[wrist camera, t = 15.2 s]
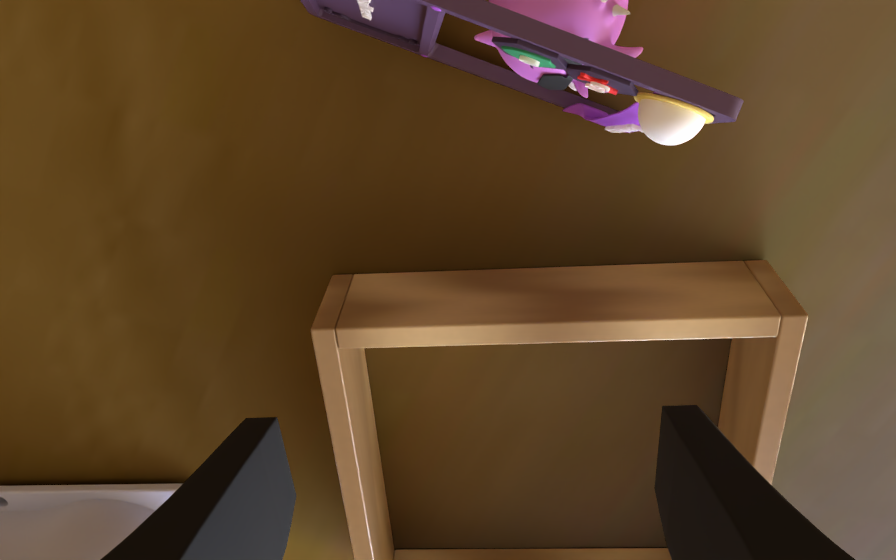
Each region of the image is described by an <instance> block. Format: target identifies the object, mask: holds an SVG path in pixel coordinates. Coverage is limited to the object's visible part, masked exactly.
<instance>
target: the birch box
mask: <svg viewBox="0 0 896 560" xmlns="http://www.w3.org/2000/svg"><path fill="white" fill-rule="evenodd" d="M807 320H808V314H807V313H806V311H805V310H804V309H803V307H802V306H801V305H800V303H799V302H798V301H797V300H796V298H795V297H794V296H793V294H792V293H791V292H790V290H789V289H788V288H787V286H786V285H785V284H784V282H783V281H782V280H781V278H780V277H779V276H778V275H777V273H776V272H775V271H774V269H773V268H772V267H771V265H770V264H769V263H768V261H766V260H752V261H744V262H743V261H719V262H690V263H661V264H632V265H604V266H575V267H546V268H517V269H489V270H460V271H431V272H402V273H374V274H354V276H353V275H352V274H345V275H332V277H331V280H330V282H329V285H328V287H327V290H326V292H325V295H324V297H323V300H322V302H321V305H320V307H319V310H318V312H317V315H316V317H315V320H314V322H313V325H312V327H311V336H312V341H313V346H314V351H315V357H316V362H317V367H318V372H319V377H320V383H321V388H322V393H323V398H324V404H325V409H326V414H327V419H328V424H329V430H330V435H331V440H332V445H333V451H334V456H335V461H336V466H337V472H338V477H339V482H340V487H341V492H342V498H343V503H344V508H345V513H346V519H347V524H348V529H349V534H350V539H351V545H352V550H353V555H354V560H672V559H671V556H670V553H669V550H668V548H590V549H408V550H395V551H394V544H393V538H392V531H391V524H390V518H389V511H388V504H387V497H386V491H385V484H384V477H383V471H382V464H381V457H380V451H379V444H378V437H377V430H376V424H375V417H374V410H373V404H372V397H371V390H370V383H369V377H368V370H367V363H366V357H365V350H364V348H384V347H421V346H458V345H495V344H533V343H570V342H607V341H644V340H681V339H718V338H732V341H731V347H730V353H729V360H728V366H727V372H726V379H725V385H724V391H723V398H722V404H721V410H720V417H719V423H718V429H719V430H720V431H721V432H722V433H723V434H724V436H725V437H726V438H727V439H728V440H729V441H730V442H731V443H732V444H733V445H734V447H735V448H736V449H737V450H738V451H739V452H740V453H741V454H742V455H743V456H744V457H745V458H746V460H747V461H748V462H749V463H750V464H751V465H752V466H753V467H754V468H755V469H756V470H757V471H758V472H759V473H760V474H761V475H762V476H763V477H764V478H765V479H766V480H767V481H768V482H769V483H770V484H771V485H772V480H773V476H774V471H775V467H776V462H777V457H778V453H779V448H780V444H781V439H782V434H783V430H784V425H785V421H786V416H787V411H788V407H789V402H790V398H791V393H792V388H793V384H794V379H795V375H796V370H797V366H798V361H799V356H800V352H801V347H802V343H803V338H804V333H805V329H806V324H807Z"/></svg>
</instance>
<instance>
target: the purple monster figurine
mask: <svg viewBox="0 0 896 560" xmlns="http://www.w3.org/2000/svg"><path fill="white" fill-rule="evenodd" d="M301 2H302V3H303V5H304V6H305V8H306V9H307V11H308V12H309V13H310V14H312V15H314V16H316V17H319V18H321V19H324V20H327V21H330V22H332V23H335V24H338V25H340V26H343V27H346V28H349V29H351V30H354V31H357V32H359V33H362V34H365V35H368V36H370V37H373V38H376V39H378V40H381V41H384V42H387V43H389V44H392V45H395V46H397V47H400V48H403V49H406V50H408V51H411V52H414V53H416V54H419V55H421V56H423V57H427V58H430V59H433V60H435V61H438V62H441V63H444V64H446V65H449V66H452V67H454V68H457V69H460V70H462V71H465V72H468V73H471V74H473V75H476V76H479V77H481V78H484V79H487V80H490V81H492V82H495V83H498V84H500V85H503V86H506V87H509V88H511V89H514V90H517V91H519V92H522V93H525V94H528V95H530V96H533V97H536V98H538V99H541V100H544V101H547V102H549V103H552V104H555V105H557V106H560V107H563V108H565V109H563V110H562V111H565V112H569V113H573V114H577V115H580V116H582V117H583V118H584V119H586V120H589V121H591V122H594V123H597V124H600V125H602V126H605V129H604V130H607V131H610V132H611V133H616V132H617V133H621V132H628V133H631V132H635V131H641V132H644V133H645V134H646V136H647V137H649V138H650V139H651V140H653V141H654V142H656V143H659V144H662V145H678V144H681V143H684V142H686V141H688V140H690V139H691V138H693V137H694V136H695V135H696V134H697V133H698V132H699V131H700V130H701V128H702V127H703V125H704V124H711V123H724V122H735V121H736V119H737V116H738V114H739V111H740V109H741V106H742V104H743V100H742V99H740V98H738V97H736V96H733V95H730V94H728V93H725V92H723V91H720V90H717V89H715V88H712V87H710V86H707V85H704V84H702V83H699V82H697V81H694V80H691V79H689V78H686V77H684V76H681V75H678V74H676V73H673V72H671V71H668V70H665V69H663V68H660V67H657V66H655V65H652V64H650V63H647V62H644V61H642V60H639V59H637V58H636V57H638V56H639V55H640V54H641V53H642V51H643V47H621V46H616V45H614V44H615V43H616V41H617V39H618V37H619V35H620V32H621V30H622V27H623V24H624V21H625V18H626V15H629V14H630V12H629V11H628V10H627V9H628V0H489V2H488V1H485V0H301ZM445 13H448V14H450V15H453V16H456V17H458V18H461V19H463V20H466V21H469V22H471V23H474V24H477V25H479V26H482V27H485V28H487V29H490V30H488V31H485V32H482V33H480V34H477V35H475V37H474V39H475V40H476V41H479V42H482V43H485V44H488V45H491V46H493V47H495V48H497V49H498V51H499V53H500V55H501V56H502V58H503V59H504V61H505V62H506V63H507V64H508V66H509V67H510V68H511V69H512V70H514V71H515V72H516V73H515V72H512V71H510V70H507V69H504V68H502V67H499V66H496V65H494V64H491V63H488V62H486V61H483V60H480V59H477V58H475V57H472V56H469V55H467V54H464V53H461V52H459V51H456V50H453V49H451V48H448V47H445V46H443V45H440V44H438V43H436V39H437V36H438V33H439V30H440V27H441V24H442V21H443V18H444V15H445ZM634 84H635V85H638V86H640V87H643V88H646V89H648V90H651V91H654V92H653V93H645V92H640V93H638V90H637V89H636V87H635V86H634ZM574 85H575V86H574ZM567 86H569V87H570V88H571V89H572V90H574V91H578V92H579V93H580V95H582V96H583V97H585V98H588V88H589V89H591V90H594V91H597V92H600V93H608V92H609V93H612V94H614V95H616V94H617V93H618V94H625V95H632V96H634V99H635V100H636V101H637V102H635V103H634V104H632V105H631V106H629V107H628V108H626V109H624V110H622V111H617V110H615V109H612V108H609V107H606V106H604V105H601V104H598V103H596V102H593V101H590V100H588V99H585V98H582V97H580V96H577V95H574V94H572V93H569V92H566V91H563V90H565V89H566V87H567ZM575 87H576V88H575ZM576 89H577V90H576Z"/></svg>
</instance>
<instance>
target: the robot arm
mask: <svg viewBox="0 0 896 560" xmlns="http://www.w3.org/2000/svg"><path fill="white" fill-rule="evenodd" d="M655 493H656V498H657V503H658V508H659V513H660V517H661V522H662V527H663V531H664V536H665V540H666V544H667V547H668V550H669V553H670V556H671V559H672V560H855V559H854V558H852V557H851V556H850V555H849V554H847V553H846V552H845V551H844V550H842V549H841V548H840V547H839V546H837V545H836V544H835V543H834V542H832V541H831V540H830V539H829V538H828V537H827V536H826V535H824V534H823V533H822V532H821V531H820V530H819V529H817V528H816V527H815V526H814V525H813V524H812V523H811V522H810V521H809V520H808V519H806V518H805V517H804V516H803V515H802V514H801V513H800V512H799V511H798V510H797V509H796V508H794V507H793V506H792V505H791V504H790V503H789V502H788V501H787V500H786V499H785V498H784V497H783V496H782V495H781V494H780V493H779V492H778V491H777V490H776V489H775V488H774V487H773V486H772V485H771V484H770V483H769V482H768V481H767V480H766V479H765V478H764V477H763V476H762V475H761V474H760V473H759V472H758V471H757V470H756V469H755V468H754V467H753V466H752V465H751V464H750V463H749V462H748V461H747V460H746V458H745V457H744V456H743V455H742V454H741V453H740V452H739V451H738V450H737V449H736V448H735V447H734V445H733V444H732V443H731V442H730V441H729V440H728V439H727V438H726V437H725V436H724V434H723V433H722V432H721V431H720V430H719V429H718V428H717V427H716V425H715V424H714V423H713V422H712V421H711V420H710V419H709V417H708V416H707V415H706V414H705V413H704V412H703V411H702V410H701V409H700V408H699V407H698V406H697V405H683V406H662V416H661V426H660V437H659V448H658V458H657V469H656V480H655ZM295 500H296V492H295V488H294V484H293V480H292V476H291V472H290V468H289V464H288V460H287V456H286V452H285V448H284V443H283V439H282V435H281V431H280V427H279V423H278V419H277V417H268V418H246V419H245V420H244V421H243V422H242V423H241V424H240V425H239V426H238V427H237V428H236V429H235V430H234V431H233V432H232V433H231V434H230V435H229V436H228V437H227V438H226V439H225V440H224V441H223V443H222V444H221V445H220V446H219V447H218V448H217V449H216V450H215V451H214V452H213V453H212V454H211V455H210V456H209V457H208V458H207V459H206V460H205V462H204V463H203V464H202V465H201V466H200V467H199V468H198V469H197V470H196V471H195V472H194V473H193V474H192V475H191V476H190V477H189V478H188V479H187V480H186V481H185V482H184V483H181V484H102V485H24V486H0V560H282V559H283V555H284V552H285V549H286V546H287V541H288V536H289V531H290V527H291V522H292V516H293V511H294V505H295Z"/></svg>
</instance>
